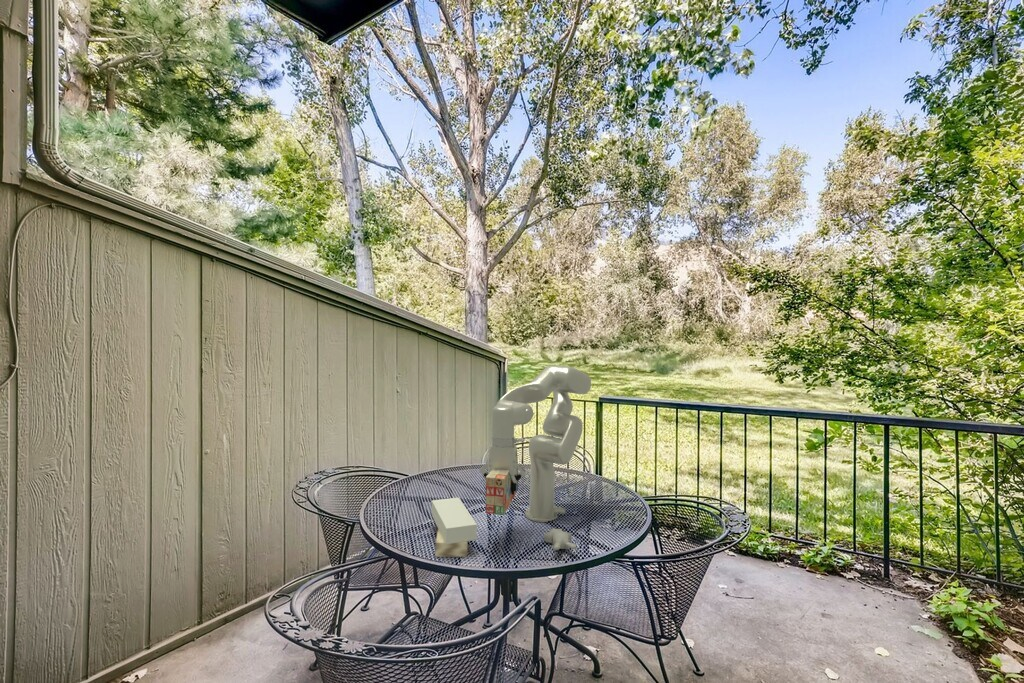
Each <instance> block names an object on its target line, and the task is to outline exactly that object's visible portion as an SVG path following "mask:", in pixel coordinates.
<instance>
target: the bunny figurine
mask: <svg viewBox="0 0 1024 683" xmlns="http://www.w3.org/2000/svg"><path fill="white" fill-rule="evenodd" d="M543 541H544V542H546V543H549V544H552V550H553V551H559V550H564V549H566V550H567V549H572V550H577V549H578V548H577V545H576V543H573V542H570V541H572V533H570V532H567V531H563V528H549V530H548V532H547V533H546V532H545V533H543Z"/></svg>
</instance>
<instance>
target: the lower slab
mask: <svg viewBox="0 0 1024 683" xmlns="http://www.w3.org/2000/svg"><path fill="white" fill-rule="evenodd" d="M435 540H436V541H435V552H434V554H435V555H434V557H435V558H439V557H440V558H442V557H445V558H446V557H447V558H450V557H454V558H455V557H461V558H462V557H463V558H464V557H468V542H469V541H465V542H458V543H451V544H446V543H445V541H444V539H443V537H442V535H441V533H440V531H439V529H438V528H437V533H436V539H435Z"/></svg>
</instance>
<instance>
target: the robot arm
mask: <svg viewBox="0 0 1024 683" xmlns="http://www.w3.org/2000/svg"><path fill="white" fill-rule="evenodd" d="M591 388H592V380H591V377H590V376H589V374H588V373H585V372H583V371H581V370H579V369H577V368H574V367H572V366H566V365H565V366H564V365H554V364H553V365H548V366H546V367H544V369H543V370H541V371H540V372H539V374H537V375H536V376H535V377H534V378H533V379H532V380H531V381H530V382H528V383H526V384H522V385H520V386H517V387H515V388H513V389H511V390H509V391H508V392H506V393H505V394H504V395H503V396H502V397H501V398H500V399H499V400H498V401H497V402H496V405H495V406H494V407H493V408H492V411H491V413H492V415H491V416H492V417H491V420H492V421H491V422H492V423H491V432H492V433H491V443H490V445H489V449H488V455H487V456H488V457H487V462H486V463H485V464H484V465H483V466H481V467H480V469H479V472H480V473H481V474H482V475H483V477H484V478H485V479H486V476H487V475H488V474H489V473H490V472H491V471H492V469H499V470H510V476H511V478H512V480H513V481H512V495H514V491H516V482H517V481H518V482H519V480H520V479H521V478H522V477H524V475H526V473H527V471H526V469H525V468H524V467H523V466H522V465H521V464H519V461H518V448H517V444H518V443H519V438H516V437H515V426H520V425H521V426H522V425H526V424H529V423H530V422H531V420H532V419H533V417H534V410H533V408H532V406H531V405H529V404H535V403H541V402H543V401H545V400H547V398H548V397H549V396H550V395H551V394H553V395H552V396H553V399H552V404H551V406H550V408H549V410H548V412H547V414H546V417H545V419H544V420H543V425H542V430H543V432H544V433H545V434H546V435H545V434H535V435H533V436H532V437H531V438H530V440H529V443H528V453H529V460H530V475H529V476H530V478H529V502H528V503H529V504H528V505H529V506H528V508H527V509H526V510H525V512H524V515H525V517H526V518H527V519H528V520H530V521H533V522H538V523H549V522H548V521H550V522H553V521H555V520H557V518H558V514H560V515H561V514H562V515H566V508H563V506H556V504H555V481H556V478H555V476H556V472H555V471H556V470H555V466H554V464H556V465H561V466H562V465H563V466H564V465H567V464H568V463H570V462H571V460H572V458H573V456H574V453H575V451H576V449H577V447H578V444H579V441H580V439H581V436H582V434H583V429H584V428H583V426H584V425H583V421H582V419H581V418H580V417H578V416H577V415H574V414H573V415H572V412H573V408H574V405H573V401H572V399H571V398H570V395H569V393H570V394H577V395H586V394H587V393H589V392H590V390H591ZM516 443H517V444H516ZM486 469H487V471H486ZM517 470H518V475H517V476H516V473H517ZM519 471H520V472H519ZM554 519H555V520H554ZM552 520H553V521H552Z"/></svg>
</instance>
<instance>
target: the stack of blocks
mask: <svg viewBox="0 0 1024 683" xmlns="http://www.w3.org/2000/svg"><path fill="white" fill-rule="evenodd" d="M518 474H519V470H517V473H516V476H517V475H518ZM512 481H513V480H512V478H511V476H510V470H499V469H492V471H491V472H490V473H488V475H487V476H486V478H485V513H486V514H490V515H500V516H504V515H505V514H506V512H507V510H508V509H509V507H510V506H511V503H512V501H513V499H514V498H515V496H516V495H517V493H518V491H519V480H518V481H517V482H516V491H514V495H512Z"/></svg>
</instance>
